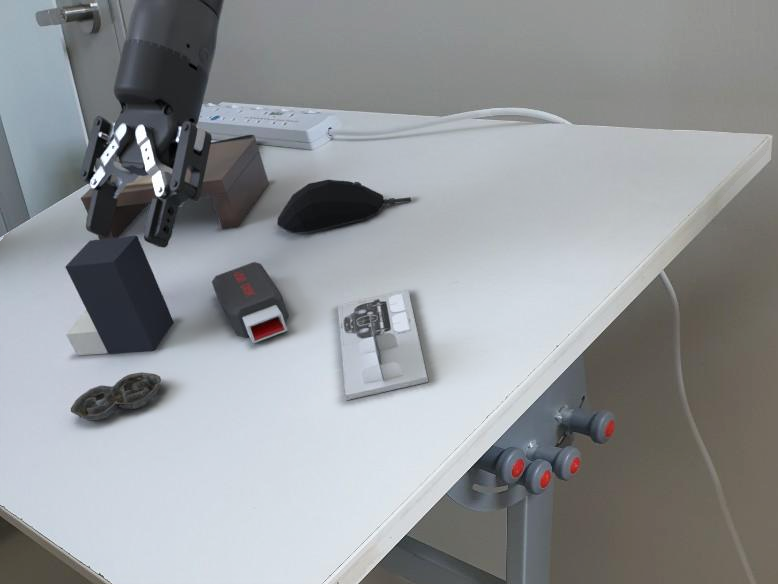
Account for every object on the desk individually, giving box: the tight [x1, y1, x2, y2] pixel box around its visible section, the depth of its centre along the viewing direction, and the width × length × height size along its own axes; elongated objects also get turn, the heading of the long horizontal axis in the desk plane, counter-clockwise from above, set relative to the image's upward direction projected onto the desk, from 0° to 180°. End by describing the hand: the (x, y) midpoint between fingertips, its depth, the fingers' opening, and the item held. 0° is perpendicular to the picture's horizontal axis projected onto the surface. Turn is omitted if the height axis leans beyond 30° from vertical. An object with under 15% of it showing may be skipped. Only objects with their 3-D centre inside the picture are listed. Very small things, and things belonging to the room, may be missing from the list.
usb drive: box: [211, 261, 289, 344], centre depth 82 cm, size 5×12×3 cm, turn 21°
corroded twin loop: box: [70, 371, 162, 421], centre depth 75 cm, size 5×8×1 cm, turn 110°
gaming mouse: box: [276, 179, 412, 234], centre depth 94 cm, size 6×15×4 cm, turn 93°
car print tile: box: [337, 289, 429, 401], centre depth 73 cm, size 15×7×4 cm, turn 6°
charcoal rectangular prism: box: [64, 235, 175, 356], centre depth 81 cm, size 8×5×9 cm, turn 79°
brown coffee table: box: [80, 137, 270, 240], centre depth 104 cm, size 18×12×6 cm, turn 79°
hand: (125, 239), depth 79 cm, fingers open, 8 cm apart
